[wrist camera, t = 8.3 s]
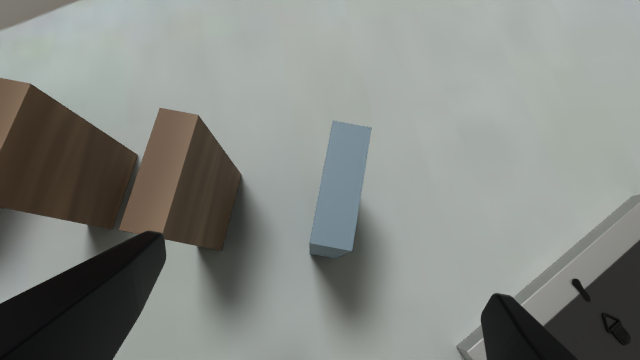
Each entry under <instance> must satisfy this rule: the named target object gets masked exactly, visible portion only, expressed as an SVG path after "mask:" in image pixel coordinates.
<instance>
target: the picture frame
mask: <svg viewBox="0 0 640 360" xmlns="http://www.w3.org/2000/svg"><path fill="white" fill-rule="evenodd" d="M513 298H514V299H515V300H516V301H517V302H518V303H519V304H520V305H521V306H522V307H523V308H525V309H526V310H527V311H528V312H529V313H530V314H531V315H532V316H533V317H534V318H535V319H536V320H537V321H538V322H539V323H540V324H542V325H543V326H544V327H545V328H546V329H547V330H548V331H549V332H550V333H551V334H552V335H553V336H554V337H555V338H556V339H557V340H558V341H560V342H561V343H562V344H563V345H564V346H565V347H566V348H567V349H568V350H569V351H570V352H571V353H572V354H573V355H574V356H575V357H576V358H578V359H579V360H640V195H636V196H632V197H630V198H629V199H628V200H627V201H626V202H625V203H623V204H622V205H621V206H620V207H619V208H618V209H616V210H615V211H614V212H613V213H612V214H610V215H609V216H608V217H607V218H606V219H605V220H603V221H602V222H601V223H600V224H599V225H598V226H596V227H595V228H594V229H593V230H592V231H591V232H589V233H588V234H587V235H586V236H585V237H584V238H582V239H581V240H580V241H579V242H578V243H577V244H575V245H574V246H573V247H572V248H571V249H570V250H568V251H567V252H566V253H565V254H564V255H563V256H561V257H560V258H559V259H558V260H557V261H555V262H554V263H553V264H552V265H551V266H550V267H548V268H547V269H546V270H545V271H544V272H543V273H541V274H540V275H539V276H538V277H537V278H536V279H534V280H533V281H532V282H531V283H530V284H529V285H527V286H526V287H525V288H524V289H523V290H522V291H520V292H519V293H518V294H517V295H516V296H515V297H513ZM457 348H458V350H459V351H460V352H461V354H462V355H463V356H464V358H465V359H466V360H487V358H486V351H485V345H484V338H483V332H482V326H479V327H478V328H477V329H476V330H475V331H474V332H472V333H471V334H470V335H469V336H468V337H467V338H465V339H464V340H463V341H462V342H461V343H459V344H458V345H457Z"/></svg>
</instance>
